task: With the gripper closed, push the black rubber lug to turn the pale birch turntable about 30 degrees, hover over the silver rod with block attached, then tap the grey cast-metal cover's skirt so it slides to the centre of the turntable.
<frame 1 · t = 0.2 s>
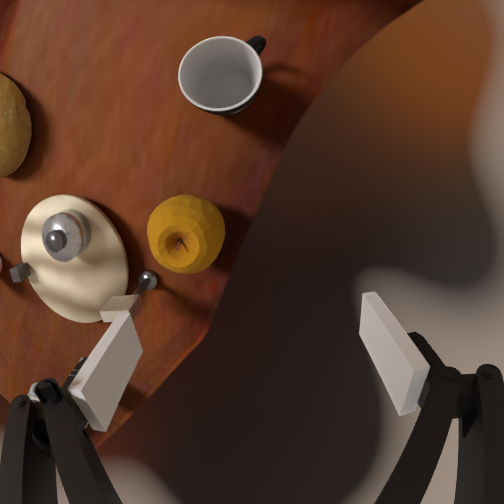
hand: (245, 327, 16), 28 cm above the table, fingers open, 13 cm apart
mug: (234, 82, 36), on the table
apple: (195, 221, 43), on the table
platter: (61, 266, 41), point 4 cm above the table, hinge at 0.0°, touching cover
silver rod with block: (149, 278, 46), on the table
cover: (72, 231, 40), point 3 cm above the table, touching platter
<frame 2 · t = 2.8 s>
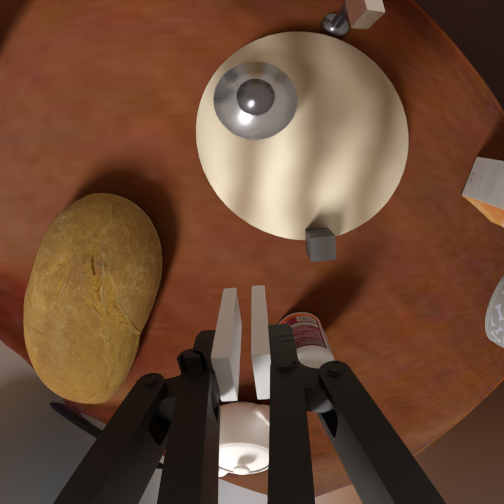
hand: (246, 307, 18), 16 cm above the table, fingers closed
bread: (89, 303, 38), on the table
small box: (483, 190, 32), on the table
pill bottle: (298, 329, 38), on the table
platter: (312, 137, 27), point 4 cm above the table, hinge at 0.0°, touching cover
silver rod with block: (333, 27, 26), on the table
teapot: (245, 416, 44), on the table
cover: (255, 105, 26), point 3 cm above the table, touching platter
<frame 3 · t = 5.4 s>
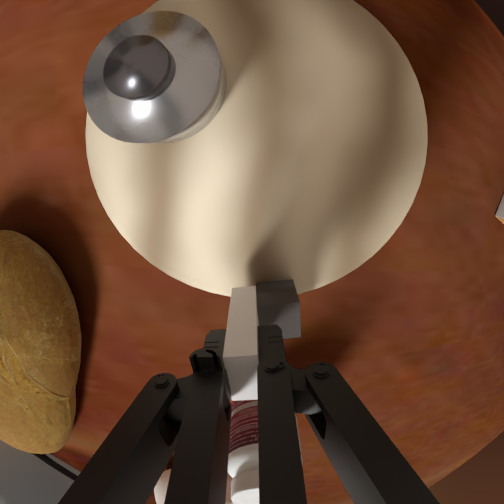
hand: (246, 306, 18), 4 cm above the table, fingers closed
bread: (23, 350, 26), on the table
pill bottle: (261, 398, 27), on the table
platter: (259, 131, 15), point 4 cm above the table, hinge at 0.1°, touching cover, gripper
teapot: (208, 474, 33), on the table
cover: (167, 87, 15), point 3 cm above the table, touching platter
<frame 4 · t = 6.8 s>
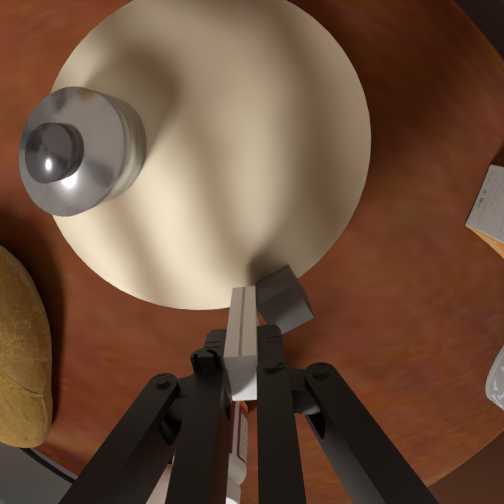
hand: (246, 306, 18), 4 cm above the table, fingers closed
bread: (6, 350, 27), on the table
small box: (498, 214, 20), on the table
pill bottle: (217, 404, 27), on the table
platter: (185, 146, 16), point 4 cm above the table, hinge at 25.9°, touching cover, gripper
teapot: (177, 475, 33), on the table
cover: (97, 149, 16), point 3 cm above the table, touching platter
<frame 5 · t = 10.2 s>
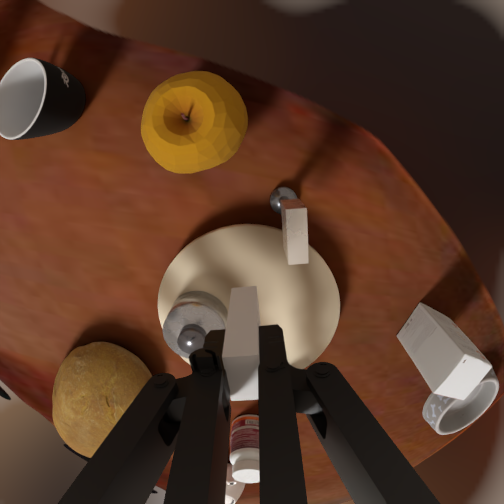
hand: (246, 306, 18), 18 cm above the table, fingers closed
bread: (101, 396, 46), on the table
small box: (423, 326, 39), on the table
mug: (61, 99, 29), on the table
apple: (204, 127, 31), on the table
dog bowl: (458, 392, 46), on the table
pill bottle: (250, 422, 46), on the table
platter: (250, 325, 34), point 4 cm above the table, hinge at 26.1°, touching cover
silver rod with block: (283, 199, 34), on the table
teapot: (215, 466, 52), on the table
cover: (199, 316, 35), point 3 cm above the table, touching platter
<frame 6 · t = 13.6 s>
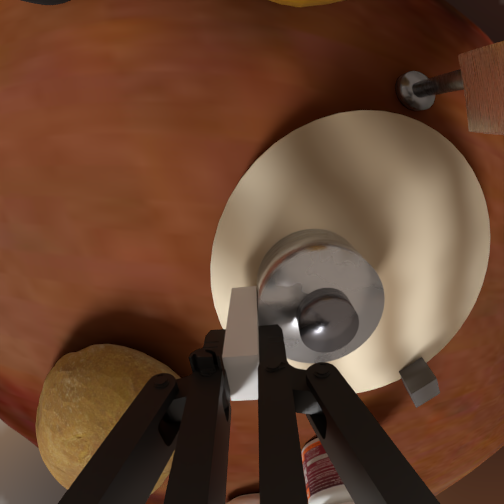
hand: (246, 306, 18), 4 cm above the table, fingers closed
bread: (108, 423, 30), on the table
pill bottle: (325, 445, 30), on the table
platter: (383, 291, 18), point 4 cm above the table, hinge at 26.1°, touching cover
silver rod with block: (412, 91, 18), on the table
teapot: (263, 499, 36), on the table
cover: (311, 281, 19), point 3 cm above the table, touching gripper, platter
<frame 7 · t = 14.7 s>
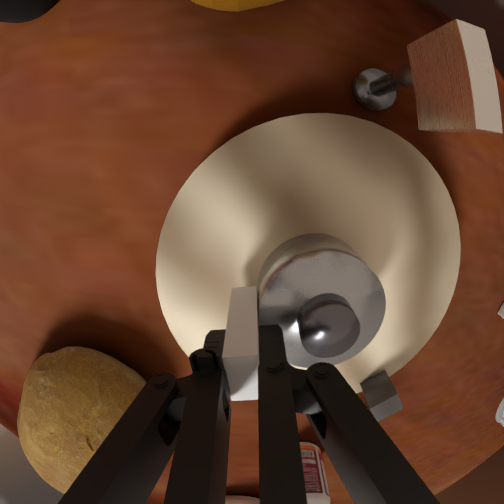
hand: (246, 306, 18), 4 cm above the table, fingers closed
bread: (86, 421, 30), on the table
pill bottle: (295, 451, 30), on the table
platter: (331, 302, 18), point 4 cm above the table, hinge at 26.1°, touching cover
silver rod with block: (371, 90, 18), on the table
teapot: (239, 501, 36), on the table
cover: (312, 285, 19), point 3 cm above the table, touching gripper, platter
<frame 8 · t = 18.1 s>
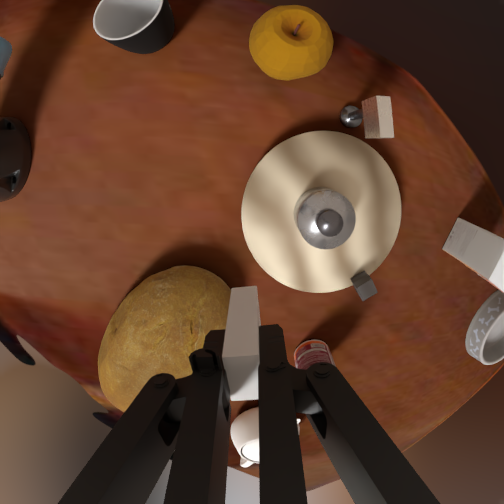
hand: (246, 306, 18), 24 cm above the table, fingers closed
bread: (159, 340, 49), on the table
small box: (462, 242, 43), on the table
mug: (145, 30, 32), on the table
apple: (284, 57, 34), on the table
dog bowl: (493, 322, 49), on the table
pill bottle: (311, 351, 49), on the table
platter: (330, 221, 37), point 4 cm above the table, hinge at 26.1°, touching cover
silver rod with block: (349, 117, 36), on the table
teapot: (266, 417, 55), on the table
cover: (320, 213, 38), point 3 cm above the table, touching platter
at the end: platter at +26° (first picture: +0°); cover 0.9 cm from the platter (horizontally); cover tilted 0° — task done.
